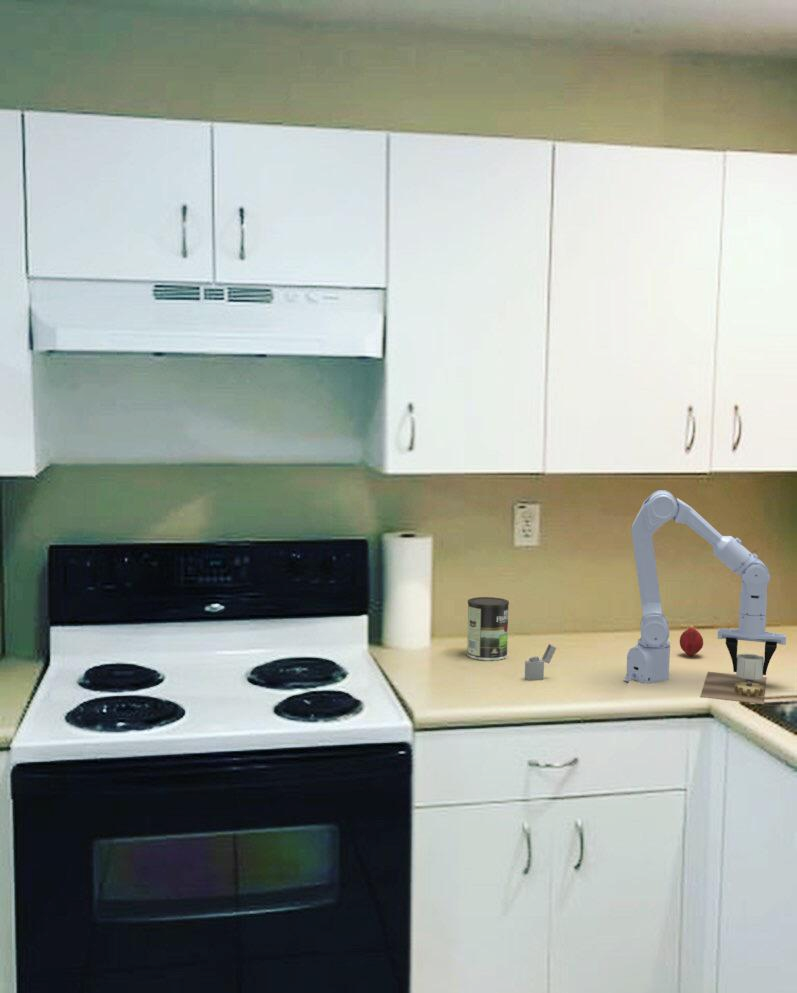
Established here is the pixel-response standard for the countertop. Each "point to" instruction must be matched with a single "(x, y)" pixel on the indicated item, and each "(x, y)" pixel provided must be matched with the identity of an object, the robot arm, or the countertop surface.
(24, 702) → the countertop surface
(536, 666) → the lighter
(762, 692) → the gear board
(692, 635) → the onion
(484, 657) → the coffee can
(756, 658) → the hollow cylinder
